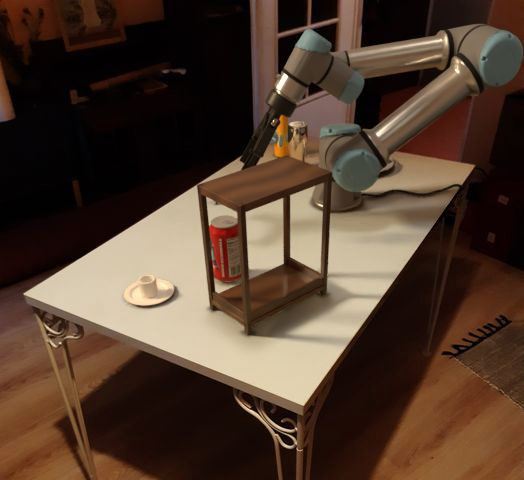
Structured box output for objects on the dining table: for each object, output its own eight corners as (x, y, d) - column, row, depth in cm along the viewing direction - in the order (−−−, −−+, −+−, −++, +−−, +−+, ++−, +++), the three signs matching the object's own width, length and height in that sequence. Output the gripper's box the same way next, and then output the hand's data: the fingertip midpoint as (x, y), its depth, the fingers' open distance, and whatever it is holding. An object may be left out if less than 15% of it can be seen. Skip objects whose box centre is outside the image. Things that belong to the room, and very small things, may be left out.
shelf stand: (209, 308, 130) (196, 184, 112) (287, 272, 142) (286, 155, 124) (247, 335, 122) (240, 206, 103) (326, 294, 133) (332, 171, 115)
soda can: (235, 287, 137) (231, 230, 128) (207, 280, 140) (201, 225, 131) (249, 271, 143) (246, 216, 133) (222, 266, 145) (217, 211, 136)
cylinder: (294, 161, 203) (294, 118, 194) (265, 160, 205) (264, 117, 196) (299, 149, 213) (299, 108, 204) (272, 148, 215) (271, 107, 205)
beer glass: (286, 165, 201) (285, 121, 192) (305, 163, 201) (306, 120, 192) (288, 172, 195) (288, 127, 186) (308, 170, 196) (309, 126, 187)
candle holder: (132, 280, 141) (129, 265, 138) (179, 281, 140) (177, 266, 137) (118, 307, 132) (114, 291, 129) (168, 308, 131) (165, 293, 128)
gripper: (271, 79, 150) (232, 150, 160) (274, 96, 129) (229, 176, 139) (294, 95, 152) (255, 164, 162) (301, 113, 131) (255, 191, 141)
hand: (243, 169), depth 150 cm, fingers open, 13 cm apart
